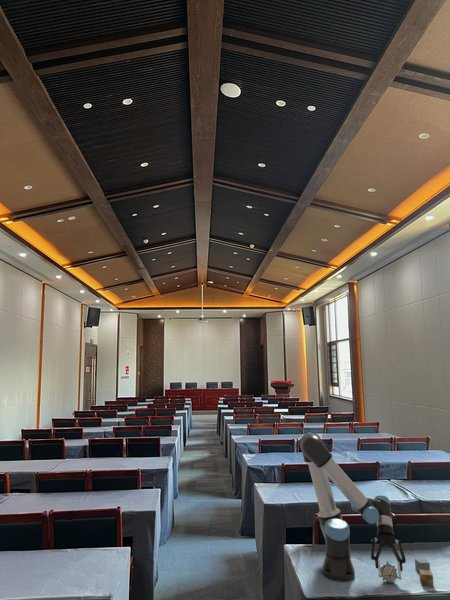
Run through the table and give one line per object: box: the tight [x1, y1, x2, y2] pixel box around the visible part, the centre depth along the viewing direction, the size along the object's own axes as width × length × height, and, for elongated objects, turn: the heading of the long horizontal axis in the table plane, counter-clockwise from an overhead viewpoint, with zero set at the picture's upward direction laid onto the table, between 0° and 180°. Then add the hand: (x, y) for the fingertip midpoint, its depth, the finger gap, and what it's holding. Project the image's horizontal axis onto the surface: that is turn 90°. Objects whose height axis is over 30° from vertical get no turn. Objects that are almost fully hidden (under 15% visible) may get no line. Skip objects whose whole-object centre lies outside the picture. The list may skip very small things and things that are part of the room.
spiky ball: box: [380, 561, 399, 586], centre depth 206 cm, size 9×8×10 cm
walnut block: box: [418, 569, 434, 588], centre depth 205 cm, size 5×5×5 cm
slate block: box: [414, 557, 431, 573], centre depth 217 cm, size 5×5×5 cm
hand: (390, 576), depth 203 cm, fingers closed on spiky ball, 8 cm apart
